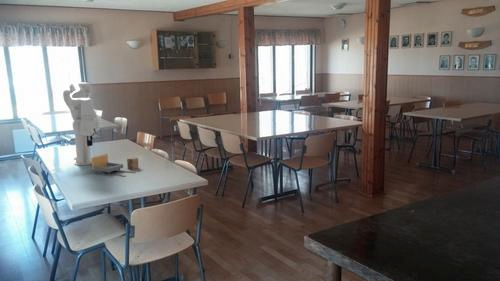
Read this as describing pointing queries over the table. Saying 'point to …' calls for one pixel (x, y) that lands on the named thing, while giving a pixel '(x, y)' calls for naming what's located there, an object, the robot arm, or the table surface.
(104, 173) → the rail track
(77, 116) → the robot arm
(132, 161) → the walnut block
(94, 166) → the grey and tan frame
